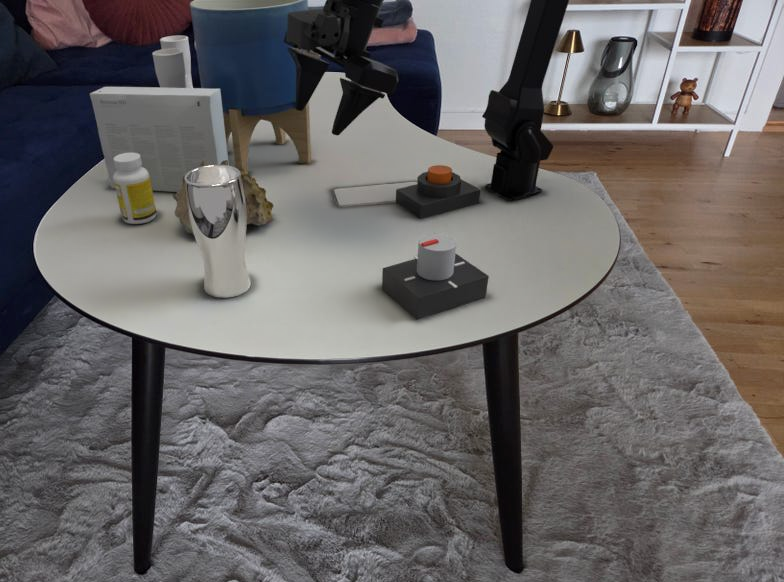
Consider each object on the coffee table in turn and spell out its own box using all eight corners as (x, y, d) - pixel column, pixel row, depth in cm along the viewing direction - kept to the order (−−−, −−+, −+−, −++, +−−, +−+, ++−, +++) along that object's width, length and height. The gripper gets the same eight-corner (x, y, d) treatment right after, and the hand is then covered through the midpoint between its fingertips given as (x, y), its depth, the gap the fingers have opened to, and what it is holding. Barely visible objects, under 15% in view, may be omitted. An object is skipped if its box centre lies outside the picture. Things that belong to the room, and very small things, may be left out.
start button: (441, 174, 100) (442, 163, 99) (455, 181, 97) (456, 170, 96) (422, 178, 99) (423, 168, 98) (436, 186, 96) (437, 175, 95)
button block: (452, 187, 104) (454, 164, 102) (479, 203, 99) (482, 178, 97) (395, 202, 101) (396, 178, 99) (420, 218, 96) (422, 193, 93)
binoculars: (196, 155, 122) (181, 54, 111) (168, 157, 122) (150, 56, 111) (202, 127, 136) (189, 34, 125) (176, 129, 136) (161, 36, 125)
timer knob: (439, 259, 80) (442, 228, 77) (460, 274, 76) (464, 242, 74) (409, 268, 78) (411, 236, 76) (430, 284, 75) (432, 251, 72)
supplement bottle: (163, 212, 102) (151, 152, 96) (146, 226, 98) (132, 164, 92) (134, 209, 103) (120, 149, 98) (116, 223, 99) (101, 162, 94)
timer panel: (445, 268, 84) (447, 246, 82) (487, 298, 78) (490, 275, 76) (380, 287, 81) (381, 265, 79) (418, 320, 74) (420, 298, 72)
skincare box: (233, 183, 110) (221, 87, 100) (222, 196, 106) (209, 97, 96) (124, 176, 115) (103, 84, 105) (109, 188, 111) (86, 93, 101)
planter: (192, 171, 116) (167, 8, 100) (240, 137, 130) (224, -11, 113) (289, 182, 109) (278, 10, 93) (328, 145, 123) (324, -10, 107)
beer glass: (202, 274, 85) (184, 166, 76) (253, 270, 86) (242, 161, 76) (199, 302, 80) (180, 188, 71) (254, 297, 80) (242, 183, 71)
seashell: (174, 228, 100) (156, 168, 93) (259, 200, 103) (248, 140, 97) (194, 260, 92) (175, 197, 85) (285, 229, 95) (274, 165, 89)
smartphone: (331, 188, 106) (419, 180, 107) (331, 192, 107) (419, 184, 107) (337, 206, 100) (430, 198, 101) (337, 210, 101) (430, 202, 101)
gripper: (270, -38, 80) (235, 86, 88) (356, -2, 69) (307, 137, 77) (336, -11, 87) (297, 103, 95) (423, 27, 76) (372, 152, 84)
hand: (316, 122), depth 87 cm, fingers open, 9 cm apart
